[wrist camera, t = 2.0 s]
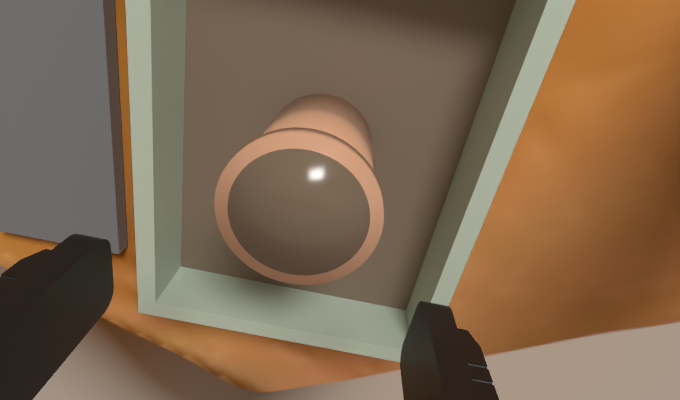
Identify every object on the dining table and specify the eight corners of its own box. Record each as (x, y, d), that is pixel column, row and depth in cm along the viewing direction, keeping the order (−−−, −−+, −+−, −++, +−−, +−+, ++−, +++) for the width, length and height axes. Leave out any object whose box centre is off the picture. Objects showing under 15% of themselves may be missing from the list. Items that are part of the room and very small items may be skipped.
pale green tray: (550, -52, 18) (603, -67, 14) (414, 313, 28) (423, 366, 24) (175, -138, 17) (117, -180, 13) (172, 266, 27) (138, 312, 23)
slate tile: (107, -125, 18) (94, -132, 17) (127, 245, 27) (119, 254, 26) (-76, -166, 17) (-99, -176, 17) (6, 222, 26) (-6, 230, 25)
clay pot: (390, 101, 20) (404, 155, 13) (363, 206, 23) (362, 298, 16) (271, 76, 20) (218, 117, 13) (258, 185, 23) (209, 268, 16)
